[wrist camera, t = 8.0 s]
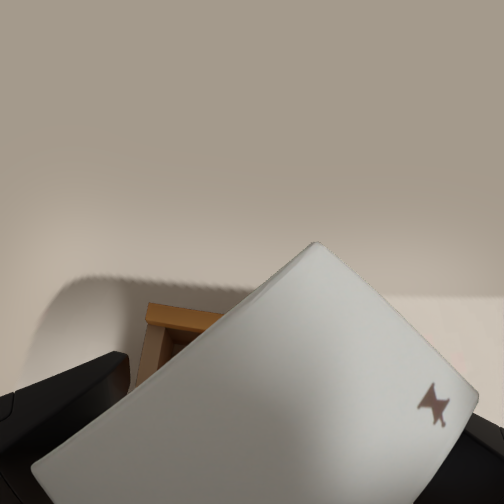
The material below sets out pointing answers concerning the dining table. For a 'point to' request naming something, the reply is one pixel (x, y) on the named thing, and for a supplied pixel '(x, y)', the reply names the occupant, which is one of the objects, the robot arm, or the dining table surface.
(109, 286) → the dining table surface
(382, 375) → the skincare box
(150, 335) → the wooden crate
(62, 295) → the dining table surface
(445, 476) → the robot arm
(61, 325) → the dining table surface
